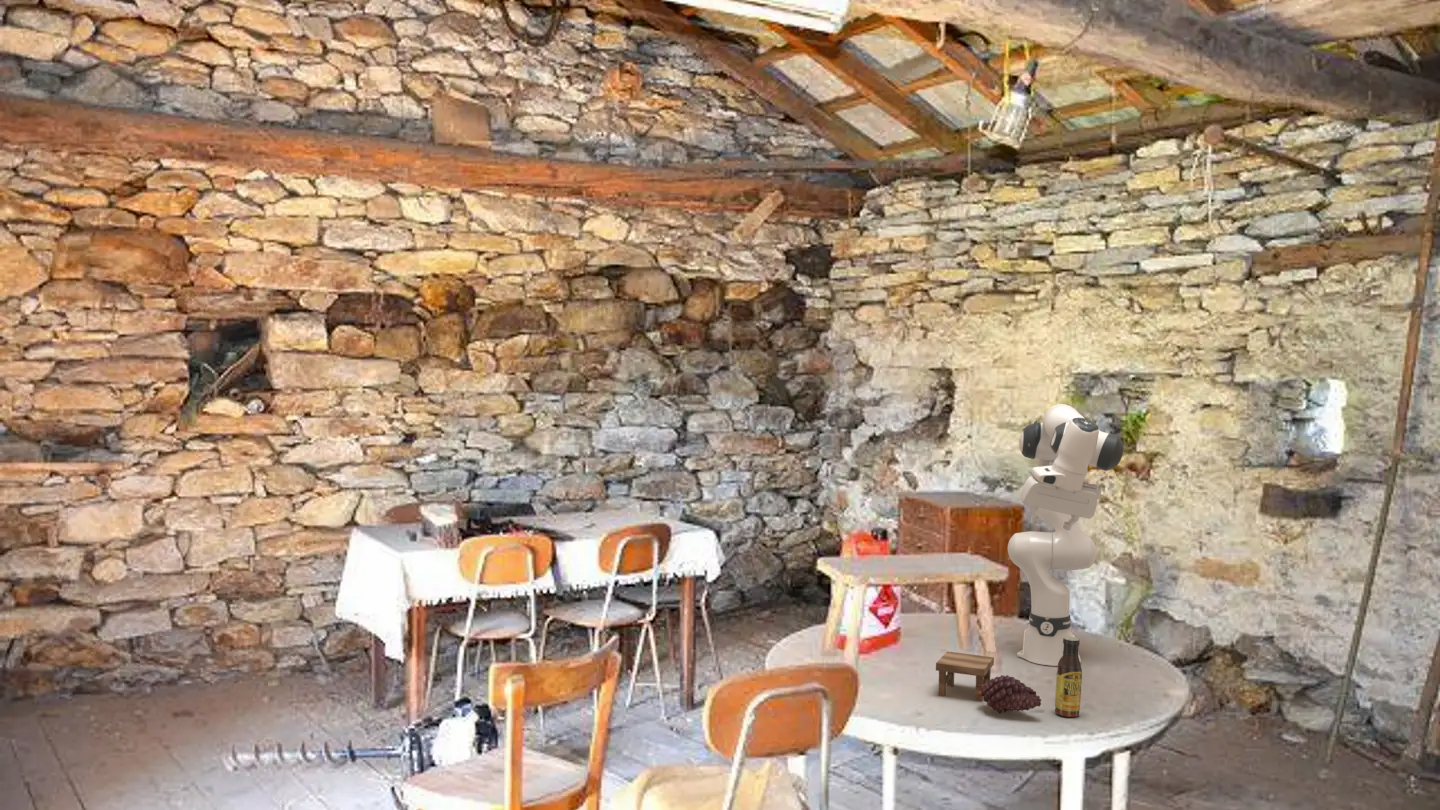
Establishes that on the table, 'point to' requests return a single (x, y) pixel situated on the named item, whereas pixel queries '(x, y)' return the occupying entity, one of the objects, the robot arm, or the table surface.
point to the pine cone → (1008, 695)
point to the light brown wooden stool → (963, 670)
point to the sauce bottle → (1069, 680)
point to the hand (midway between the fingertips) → (1049, 525)
